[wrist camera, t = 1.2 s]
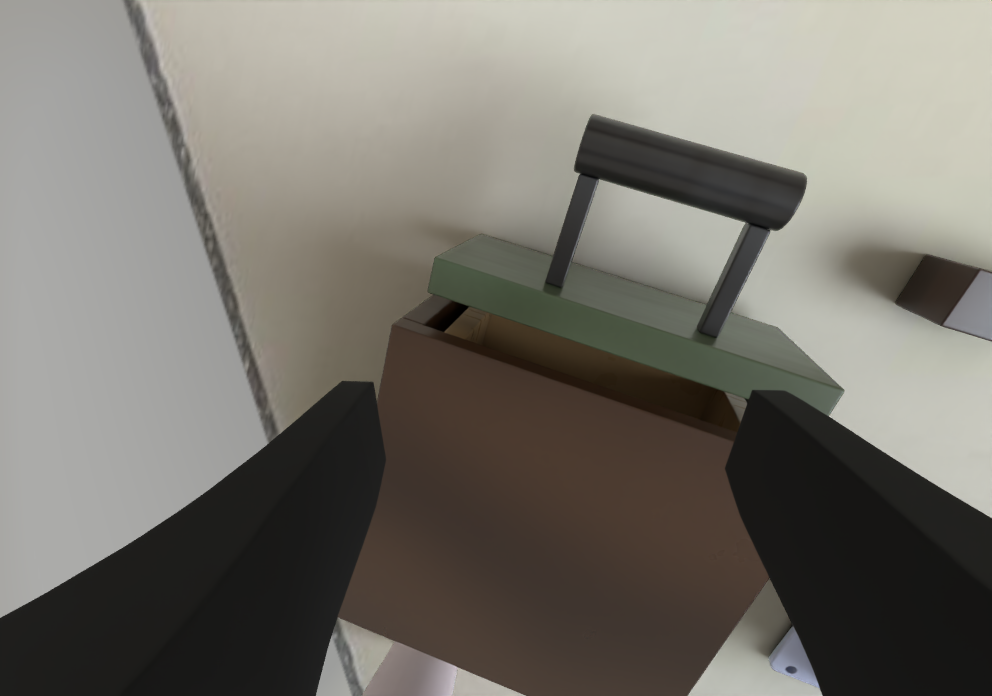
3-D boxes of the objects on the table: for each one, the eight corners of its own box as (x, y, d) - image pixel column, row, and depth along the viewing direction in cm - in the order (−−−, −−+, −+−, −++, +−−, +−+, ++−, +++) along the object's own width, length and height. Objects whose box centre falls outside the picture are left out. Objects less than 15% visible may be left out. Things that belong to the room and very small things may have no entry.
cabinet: (461, 274, 22) (391, 323, 15) (760, 372, 20) (840, 478, 13) (405, 501, 27) (335, 617, 20) (639, 591, 26) (651, 748, 19)
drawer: (513, 102, 18) (473, 75, 13) (849, 198, 17) (962, 212, 11) (421, 468, 25) (370, 550, 20) (654, 555, 24) (667, 668, 18)
